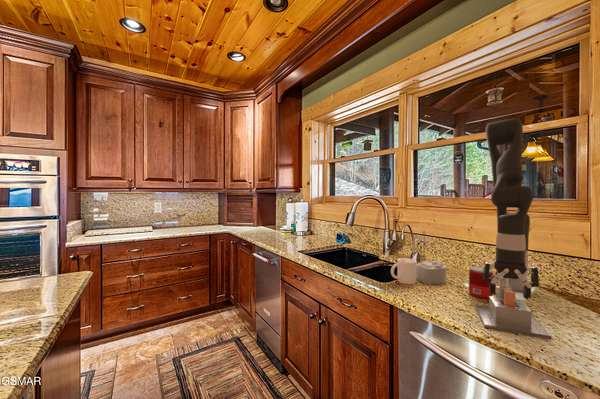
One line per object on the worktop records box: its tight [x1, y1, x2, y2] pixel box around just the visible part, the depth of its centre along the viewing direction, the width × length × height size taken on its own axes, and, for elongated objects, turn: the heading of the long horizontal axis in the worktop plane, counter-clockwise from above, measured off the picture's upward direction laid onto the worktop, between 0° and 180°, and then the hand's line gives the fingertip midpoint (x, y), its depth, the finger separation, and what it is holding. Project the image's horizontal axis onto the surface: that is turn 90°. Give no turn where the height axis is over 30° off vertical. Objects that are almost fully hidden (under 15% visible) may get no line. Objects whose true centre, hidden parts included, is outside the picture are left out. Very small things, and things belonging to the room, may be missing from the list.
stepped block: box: [502, 290, 517, 307], centre depth 87 cm, size 3×3×9 cm
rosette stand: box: [474, 277, 552, 340], centre depth 88 cm, size 18×16×17 cm
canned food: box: [468, 265, 494, 300], centre depth 108 cm, size 8×8×11 cm
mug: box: [390, 257, 417, 286], centre depth 124 cm, size 12×8×10 cm
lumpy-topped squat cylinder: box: [416, 260, 447, 285], centre depth 127 cm, size 10×13×9 cm
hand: (509, 296), depth 87 cm, fingers open, 8 cm apart
